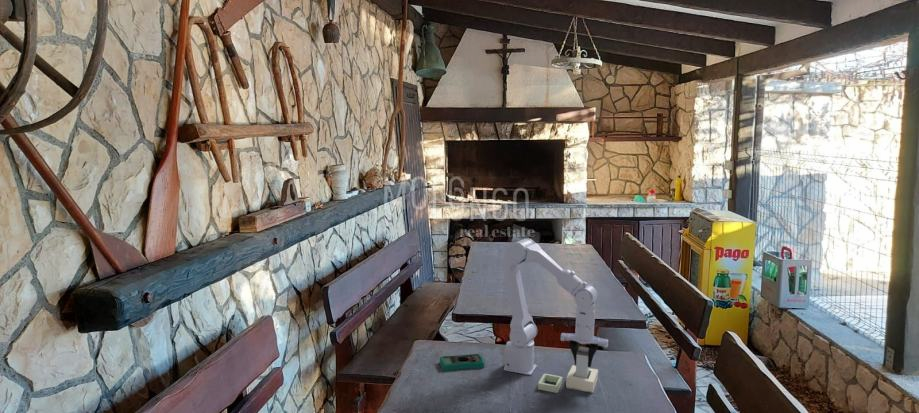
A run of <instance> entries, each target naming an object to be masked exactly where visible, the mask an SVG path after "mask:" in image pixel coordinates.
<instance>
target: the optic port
mask: <svg viewBox="0 0 919 413" xmlns="http://www.w3.org/2000/svg"><path fill="white" fill-rule="evenodd" d="M598 377H599V369H597V368H592V367H590V372H589V374H588V377H587V378H583V377H577V376H576V365H575V364H572V366H571V367H570V370H569V371H568V373H567V376H566V380H565V382H566V383H565V385H566V386H565V389H571V390H575V391H579V392H584V393H585V392H586V393H591V394H593V393H594V392H595V388H596V385H597V382H598V379H599V378H598Z"/></svg>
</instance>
